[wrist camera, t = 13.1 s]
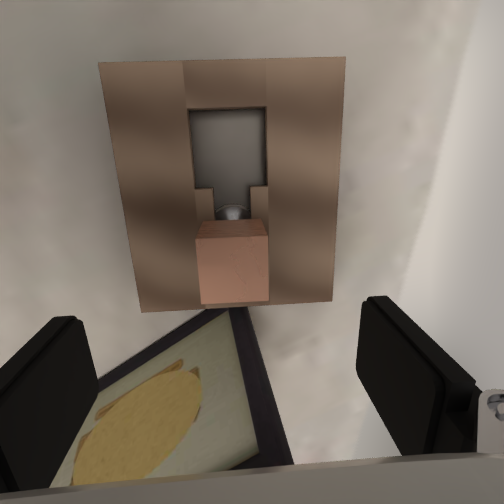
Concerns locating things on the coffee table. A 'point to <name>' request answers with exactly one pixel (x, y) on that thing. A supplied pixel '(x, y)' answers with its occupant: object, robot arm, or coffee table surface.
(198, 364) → the picture frame
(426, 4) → the coffee table surface
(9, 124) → the coffee table surface
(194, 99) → the keyhole board
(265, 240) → the peg
